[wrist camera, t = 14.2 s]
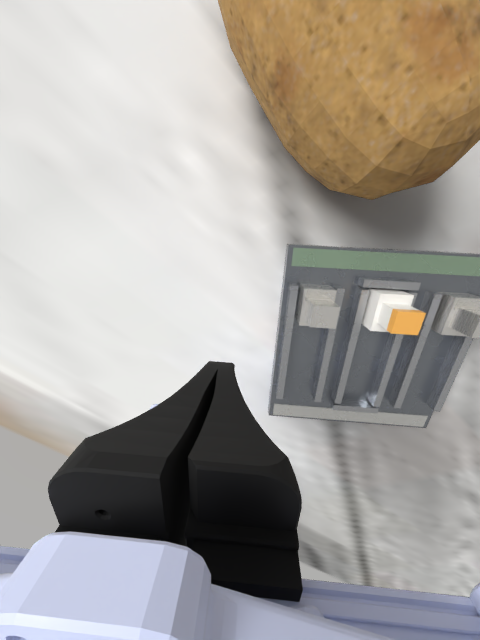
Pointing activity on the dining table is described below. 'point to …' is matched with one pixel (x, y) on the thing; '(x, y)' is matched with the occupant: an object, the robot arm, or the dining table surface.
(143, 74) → the dining table surface
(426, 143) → the potato
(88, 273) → the dining table surface
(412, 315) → the breaker
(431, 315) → the panel
